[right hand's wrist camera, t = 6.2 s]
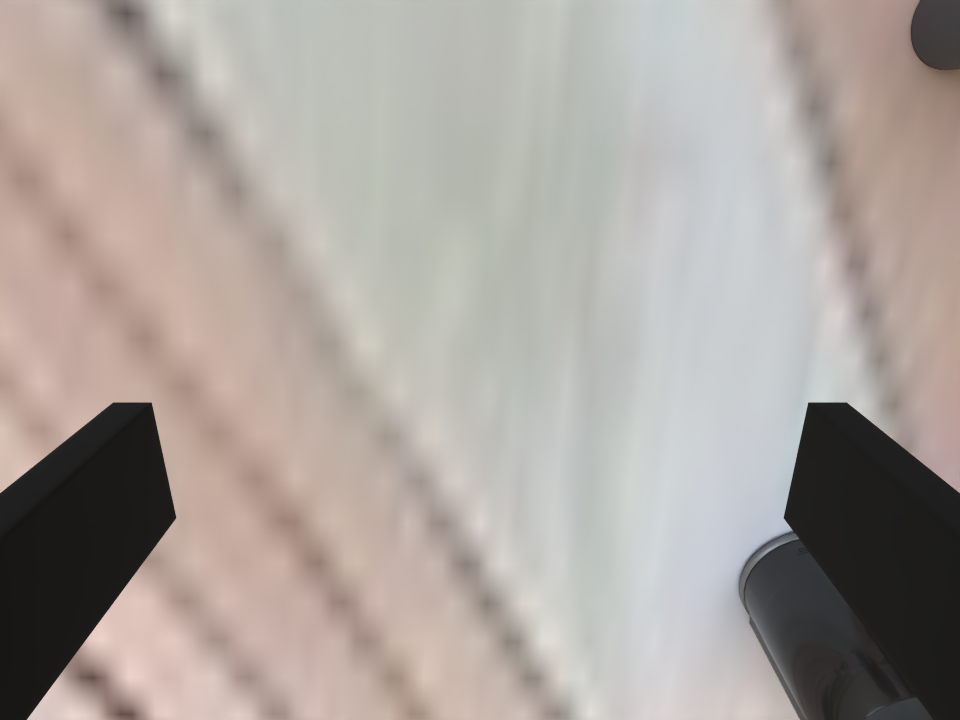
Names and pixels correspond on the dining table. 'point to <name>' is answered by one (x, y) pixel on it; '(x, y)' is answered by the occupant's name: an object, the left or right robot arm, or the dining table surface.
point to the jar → (937, 33)
